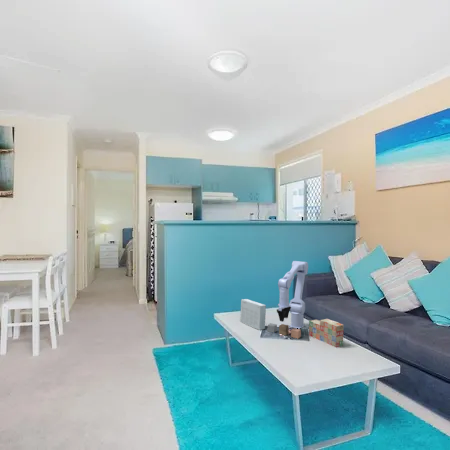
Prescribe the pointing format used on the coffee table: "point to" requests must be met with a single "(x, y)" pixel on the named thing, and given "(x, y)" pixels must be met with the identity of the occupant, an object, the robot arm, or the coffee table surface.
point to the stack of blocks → (327, 331)
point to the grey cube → (272, 327)
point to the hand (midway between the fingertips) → (283, 319)
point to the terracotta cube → (296, 333)
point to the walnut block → (283, 329)
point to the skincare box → (253, 314)
